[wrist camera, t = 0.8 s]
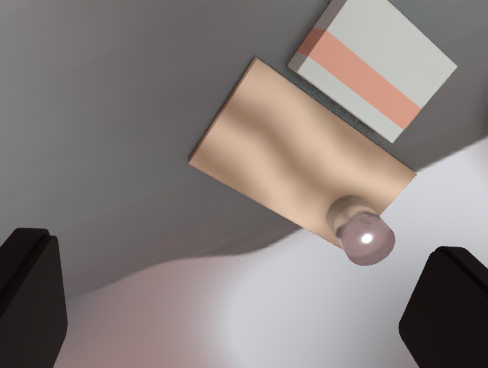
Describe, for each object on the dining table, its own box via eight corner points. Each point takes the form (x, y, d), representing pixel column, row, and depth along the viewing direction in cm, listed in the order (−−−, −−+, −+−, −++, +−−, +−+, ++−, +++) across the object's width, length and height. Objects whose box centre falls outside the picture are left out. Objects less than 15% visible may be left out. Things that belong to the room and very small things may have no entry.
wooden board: (255, 56, 33) (257, 58, 32) (411, 170, 40) (416, 174, 39) (188, 159, 36) (188, 163, 35) (343, 245, 44) (346, 251, 43)
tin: (346, 187, 39) (370, 215, 33) (377, 207, 40) (405, 237, 35) (317, 221, 40) (336, 253, 35) (348, 239, 42) (371, 272, 36)
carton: (343, -19, 31) (363, -23, 27) (430, 61, 35) (457, 66, 31) (286, 65, 34) (297, 71, 30) (373, 130, 38) (392, 143, 34)
